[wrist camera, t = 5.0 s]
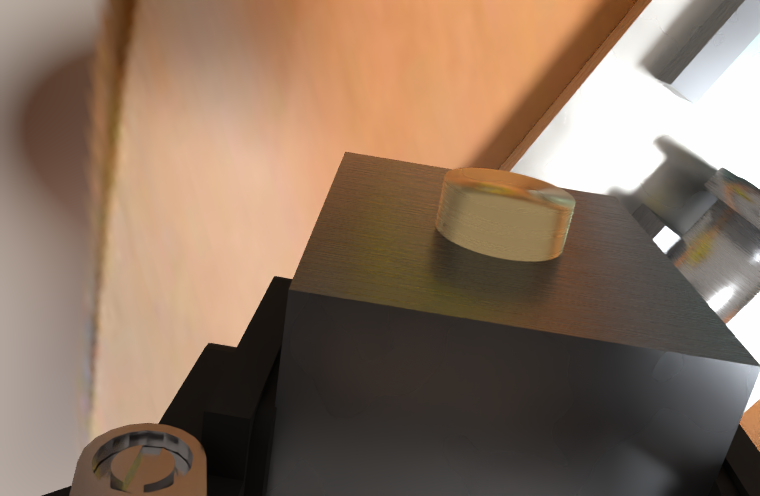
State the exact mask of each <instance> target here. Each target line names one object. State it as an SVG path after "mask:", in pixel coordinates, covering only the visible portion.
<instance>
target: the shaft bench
mask: <svg viewBox="0 0 760 496" xmlns="http://www.w3.org/2000/svg"><path fill="white" fill-rule="evenodd" d="M498 170H502V171H508V172H513V173H518V174H522V175H526V176H529V177H533V178H536V179H539V180H542V181H545V182H548V183H550V184H553V185H555V186H557V187H561V188H567V189H573V190H579V191H585V192H591V193H597V194H603V195H609V196H615V197H616V198H617V199H618V200H619V201H620V202H621V203H622V205H623V206H624V207H625V208H626V209H627V210H628V212H629V213H630V214H631V215H632V216H633V217H634V219H635V220H636V221H637V222H638V223H639V224H640V226H641V227H642V228H643V229H644V230H645V231H646V233H647V234H648V235H649V236H650V237H651V238H652V239H653V241H654V242H655V243H656V244H657V245H658V246H659V248H660V249H661V250H662V251H663V252H664V253H665V255H666V256H667V257H668V258H669V259H670V260H671V262H672V263H673V264H674V265H675V266H676V267H677V269H678V270H679V271H680V272H681V273H682V274H683V275H684V277H685V278H686V279H687V280H688V281H689V282H690V284H691V285H692V286H693V287H694V288H695V289H696V291H697V292H698V293H699V294H700V295H701V296H702V298H703V299H704V300H705V301H706V302H707V303H708V305H709V306H710V307H711V308H712V309H713V310H714V311H715V313H716V314H717V315H718V316H719V317H720V318H721V320H722V321H723V322H724V323H725V324H726V325H727V327H728V328H729V329H730V330H731V331H732V332H733V334H734V335H735V336H736V337H737V338H738V339H739V341H740V342H741V343H742V344H743V345H744V346H745V347H746V349H747V350H748V351H749V352H750V353H751V354H752V356H753V357H754V358H755V359H756V360H757V361H758V363H759V364H760V0H638V1H637V2H636V3H635V5H634V6H633V7H632V8H631V9H630V11H629V12H628V13H627V14H626V15H625V17H624V18H623V19H622V20H621V22H620V23H619V24H618V25H617V26H616V28H615V29H614V30H613V31H612V32H611V34H610V35H609V36H608V37H607V39H606V40H605V41H604V42H603V43H602V45H601V46H600V47H599V48H598V49H597V51H596V52H595V53H594V54H593V55H592V57H591V58H590V59H589V60H588V62H587V63H586V64H585V65H584V66H583V68H582V69H581V70H580V71H579V72H578V74H577V75H576V76H575V77H574V79H573V80H572V81H571V82H570V83H569V85H568V86H567V87H566V88H565V89H564V91H563V92H562V93H561V94H560V95H559V97H558V98H557V99H556V100H555V102H554V103H553V104H552V105H551V106H550V108H549V109H548V110H547V111H546V112H545V114H544V115H543V116H542V117H541V119H540V120H539V121H538V122H537V123H536V125H535V126H534V127H533V128H532V129H531V131H530V132H529V133H528V134H527V135H526V137H525V138H524V139H523V140H522V142H521V143H520V144H519V145H518V146H517V148H516V149H515V150H514V151H513V152H512V154H511V155H510V156H509V157H508V159H507V160H506V161H505V162H504V163H503V165H502V166H501V167H500V168H499V169H498ZM759 399H760V374H759V376H758V379H757V381H756V384H755V386H754V388H753V391H752V393H751V396H750V398H749V401H748V403H747V406H746V408H745V410H744V412H745V411H746V410H747V409H749V408H750V407H751V406H752V405H753V404H754V403H755V402H756V401H757V400H759Z"/></svg>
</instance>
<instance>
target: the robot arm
mask: <svg viewBox="0 0 760 496" xmlns="http://www.w3.org/2000/svg"><path fill="white" fill-rule="evenodd" d="M292 280H293V279H288V278H283V277H277V276H275V277H274V278H273V280H272V282H271V283H270V285H269V287H268V289H267V291H266V293H265V295H264V297H263V299H262V301H261V302H260V304H259V306H258V308H257V310H256V312H255V314H254V316H253V318H252V320H251V322H250V323H249V325H248V327H247V329H246V331H245V333H244V335H243V337H242V339H241V341H240V342H239V344H238V346H237V347H231V346H225V345H220V344H214V343H208V345H207V346H206V347H205V348H204V350H203V352H202V353H201V355H200V357H199V358H198V360H197V362H196V363H195V365H194V366H193V368H192V370H191V371H190V373H189V375H188V376H187V378H186V379H185V381H184V383H183V384H182V386H181V388H180V389H179V391H178V393H177V394H176V396H175V397H174V399H173V401H172V402H171V404H170V406H169V407H168V409H167V410H166V412H165V414H164V415H163V417H162V419H161V420H160V422H159V424H153V423H143V424H132V425H127V426H123V427H119V428H116V429H112V430H110V431H108V432H106V433H104V434H102V435H100V436H98V437H96V438H95V439H94V440H93V441H92V442H91V443H89V444H88V445H87V446H86V447H85V448H84V449H83V451H82V453H81V455H80V457H79V459H78V462H77V466H76V470H75V474H74V478H73V482H72V486H69V487H67V488H63V489H61V490H57V491H54V492H52V493H48V494H46V495H43V496H266V493H267V485H268V477H269V468H270V460H271V452H272V444H273V436H274V428H275V420H276V412H277V408H276V407H275V399H276V391H277V383H278V374H279V366H280V357H281V349H282V341H283V332H284V324H285V315H286V307H287V299H288V290H289V287H290V285H291V282H292ZM708 496H760V452H759V451H758V449H757V448H756V447H755V445H754V444H753V442H752V441H751V439H750V438H749V437H748V435H747V434H746V432H745V431H744V430H743V428H742V427H741V425H740V424H739V425H738V427H737V430H736V432H735V435H734V437H733V440H732V442H731V445H730V447H729V449H728V452H727V454H726V457H725V459H724V462H723V464H722V466H721V469H720V471H719V474H718V476H717V479H716V480H714V482H713V485H712V487H711V490H710V492H709V494H708Z"/></svg>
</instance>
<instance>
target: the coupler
mask: <svg viewBox="0 0 760 496" xmlns="http://www.w3.org/2000/svg"><path fill="white" fill-rule="evenodd" d="M759 374H760V364H759V363H758V361H757V360H756V359H755V358H754V357H753V356H752V354H751V353H750V352H749V351H748V350H747V349H746V347H745V346H744V345H743V344H742V343H741V342H740V341H739V339H738V338H737V337H736V336H735V335H734V334H733V332H732V331H731V330H730V329H729V328H728V327H727V325H726V324H725V323H724V322H723V321H722V320H721V318H720V317H719V316H718V315H717V314H716V313H715V311H714V310H713V309H712V308H711V307H710V306H709V305H708V303H707V302H706V301H705V300H704V299H703V298H702V296H701V295H700V294H699V293H698V292H697V291H696V289H695V288H694V287H693V286H692V285H691V284H690V282H689V281H688V280H687V279H686V278H685V277H684V275H683V274H682V273H681V272H680V271H679V270H678V269H677V267H676V266H675V265H674V264H673V263H672V262H671V260H670V259H669V258H668V257H667V256H666V255H665V253H664V252H663V251H662V250H661V249H660V248H659V246H658V245H657V244H656V243H655V242H654V241H653V239H652V238H651V237H650V236H649V235H648V234H647V233H646V231H645V230H644V229H643V228H642V227H641V226H640V224H639V223H638V222H637V221H636V220H635V219H634V217H633V216H632V215H631V214H630V213H629V212H628V210H627V209H626V208H625V207H624V206H623V205H622V203H621V202H620V201H619V200H618V199H617V198H616V197H615V196H609V195H603V194H597V193H591V192H585V191H579V190H573V189H567V188H561V187H557V186H555V185H553V184H550V183H548V182H545V181H542V180H539V179H536V178H533V177H529V176H526V175H522V174H518V173H513V172H508V171H502V170H496V169H487V168H459V169H454V170H452V169H446V168H440V167H434V166H428V165H422V164H416V163H410V162H404V161H398V160H392V159H386V158H380V157H374V156H368V155H361V154H355V153H349V152H345V154H344V156H343V159H342V161H341V164H340V166H339V168H338V171H337V173H336V176H335V178H334V181H333V183H332V185H331V188H330V190H329V193H328V195H327V198H326V200H325V202H324V205H323V207H322V210H321V212H320V214H319V217H318V219H317V222H316V224H315V227H314V229H313V231H312V234H311V236H310V239H309V241H308V244H307V246H306V248H305V251H304V253H303V256H302V258H301V260H300V263H299V265H298V268H297V270H296V273H295V275H294V277H293V280H292V282H291V285H290V287H289V290H288V299H287V307H286V315H285V324H284V332H283V341H282V349H281V357H280V366H279V374H278V383H277V391H276V399H275V407H276V408H277V412H276V420H275V428H274V436H273V444H272V452H271V460H270V468H269V477H268V485H267V493H266V496H708V494H709V492H710V490H711V487H712V485H713V482H714V480H716V479H717V476H718V474H719V471H720V469H721V466H722V464H723V462H724V459H725V457H726V454H727V452H728V449H729V447H730V445H731V442H732V440H733V437H734V435H735V432H736V430H737V427H738V425H739V423H740V420H741V418H742V415H743V413H744V410H745V408H746V406H747V403H748V401H749V398H750V396H751V393H752V391H753V388H754V386H755V384H756V381H757V379H758V376H759Z"/></svg>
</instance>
